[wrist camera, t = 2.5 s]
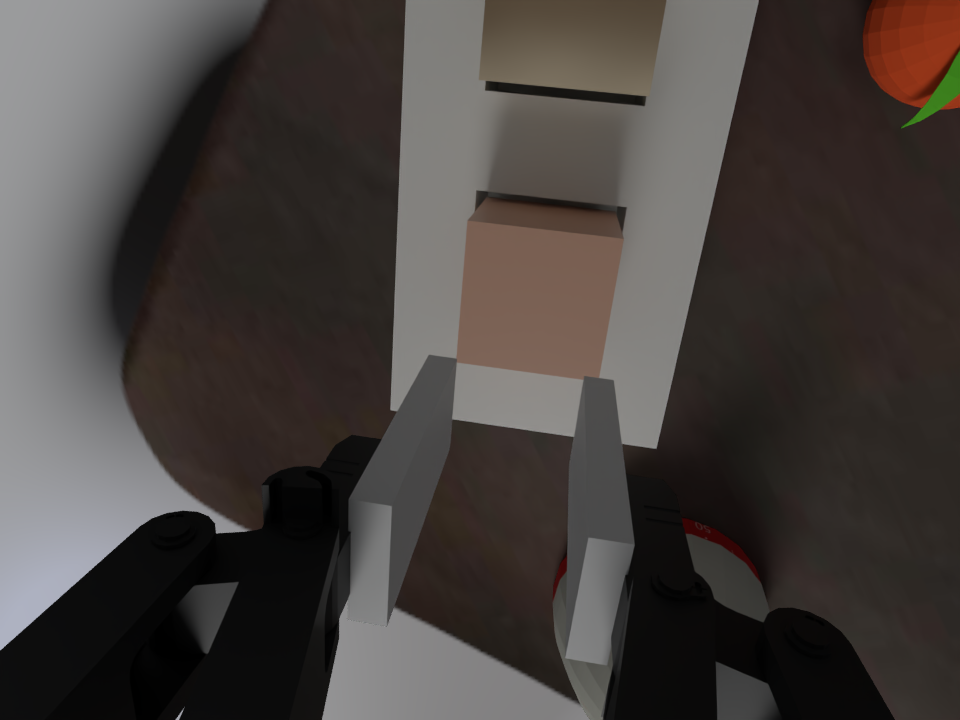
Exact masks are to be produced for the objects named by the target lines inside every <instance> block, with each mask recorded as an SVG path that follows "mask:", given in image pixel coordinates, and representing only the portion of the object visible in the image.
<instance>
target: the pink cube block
mask: <svg viewBox="0 0 960 720" xmlns="http://www.w3.org/2000/svg"><path fill="white" fill-rule="evenodd" d="M623 241H624V237H623V234H622V231H621V228H620V225H619V222H618V218H617V215H616V212H615V211H608V210H599V209H591V208H582V207H573V206H564V205H555V204H546V203H538V202H529V201H520V200H511V199H502V198H493V197H486V199H485V200H484V201H483V202H482V204H481V205H480V206H479V207H478V208H477V210H476V211H475V212H474V213H473V214H472V216H471V217H470V218H469V219H468V220H467V232H466V244H465V257H464V269H463V282H462V294H461V307H460V319H459V331H458V344H457V356H456V358H457V363H464V364H471V365H479V366H486V367H493V368H501V369H508V370H515V371H522V372H530V373H537V374H544V375H552V376H559V377H566V378H573V379H581V380H584V376H588V377H596V378H599V376H600V370H601V364H602V359H603V353H604V348H605V342H606V336H607V331H608V325H609V320H610V314H611V308H612V303H613V297H614V292H615V286H616V280H617V275H618V269H619V264H620V258H621V252H622V247H623Z"/></svg>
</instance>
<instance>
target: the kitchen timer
mask: <svg viewBox="0 0 960 720" xmlns="http://www.w3.org/2000/svg"><path fill="white" fill-rule="evenodd" d="M682 521H683V527H684V529H685V533H686V537H687V541H688V545H689V549H690V553H691V558H692V562H693V566H694V570H695V572H696V573H698V574H699V575H701V576H702V577H703V578H704V579H705V581H706V582H707V583H708V584H709V585H710V587H711V589H712V593H713V596H714V599H715V600H717V601H718V602H720V603H721V604H723V605H724V606H726V607H728V608H730V609H732V610H734V611H736V612H738V613H741V614H743V615H746V616H749V617H751V618H754V619H756V620H759V621H761V622H764V620H765V618H766V616H767V614H768V613H769V612H770V611H769V607H768V604H767V600H766V597H765V594H764V590H763V587H762V584H761V581H760V578H759V576H758V573H757V570H756V568H755V566H754V565H753V563H752V562H751V561H750V559H749V558H748V557H747V555H746V554H745V553H744V552H743V550H742V549H741V548H740V546H739V545H737V544H736V543H734V542H733V541H732V540H730V539H729V538H727V537H726V536H725V535H723V534H722V533H720V532H719V531H718V530H716V529H714V528H711V527H708V526H706V525H703V524H700V523H698V522H695V521H692V520H690V519H686V518H682ZM566 597H567V556H566V557H565V558H564V560H563V561H562V562H561V564H560V566H559V570H558V573H557V576H556V579H555V583H554V586H553V614H554V628H555V636H556V641H557V645H558V648H559V651H560V654H561V657H562V660H563V663H564V666H565V669H566V671H567V674H568V677H569V679H570V682H571V684H572V686H573V688H574V691H575V693H576V695H577V697H578V700H579V702H580V704H581V706H582V708H583V710H584V712H585V713H586V715H587V716H588V718H589V719H590V720H603V717H601V714H602V710H603V706H604V701H605V697H606V693H607V688H608V684H609V680H610V676H611V671H612V667H613V661H612V646H611V651H610V655H609V660H608V664H607V665H601V664H596V663H590V662H584V661H579V660H573V659H567V658H565V647H566Z"/></svg>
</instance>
